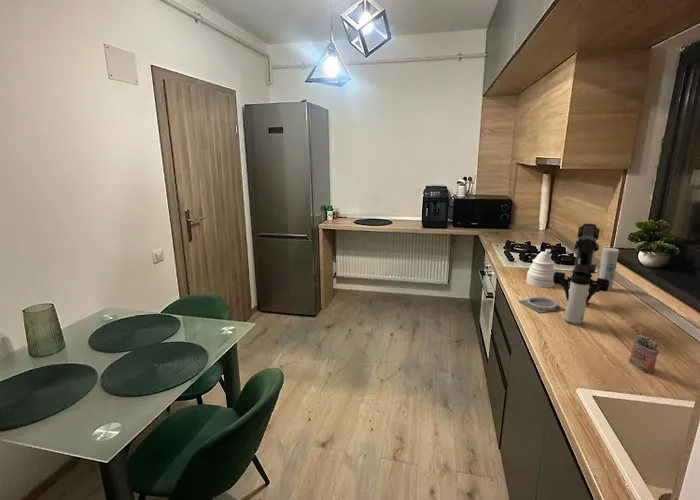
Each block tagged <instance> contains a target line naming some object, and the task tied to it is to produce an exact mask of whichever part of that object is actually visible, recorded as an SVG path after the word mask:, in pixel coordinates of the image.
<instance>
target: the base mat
mask: <svg viewBox="0 0 700 500" xmlns="http://www.w3.org/2000/svg"><path fill="white" fill-rule="evenodd" d="M518 302H519V304H520V303H521V304H522V305H523V306H526V307H527V308H528V309H531V310H532V311H534V312H536V313H538V314H544V313H551V312H560V311H566V308H564V307H562V306H559V305H558V307H557V308H556V309H555V310H550V311H546V310H538V309H535V308H532V307H530V306H528V305H527V304H526V299H522V300H518ZM531 303H533V304H536V305H539V306H553V305H552V304H550V303H548V302H544V301H531Z"/></svg>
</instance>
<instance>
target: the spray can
mask: <svg viewBox="0 0 700 500" xmlns="http://www.w3.org/2000/svg"><path fill="white" fill-rule="evenodd" d="M619 253H620V250H619V249H618V248H613V247H603V248H602V251H601V256H600V257H601V258H600V262H599V263H600V264H599V270H598V274H597V275H598V277H597V278H603V279H608V280H609V281H610V282H609V287H608V290H611V291H612V289H613V286H614V285H613V284H614V279H615V275H616V269H617V264H618V260H619V259H618V258H619Z"/></svg>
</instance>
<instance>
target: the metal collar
mask: <svg viewBox="0 0 700 500" xmlns="http://www.w3.org/2000/svg"><path fill="white" fill-rule="evenodd" d="M525 300H526V304H527V305H528V306H530V307H532V308H535V309H538V310H546V311H550V310H555V309H556V308H557V307H558V306H559V304H558V302H557V301H556V300H553V299H551V298H547V297H543V296H529V297H528V298H527V297H526V299H525ZM531 301H544V302H548V303H550V304H552V305H553V306H539V305H536V304H533V303H531Z"/></svg>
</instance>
